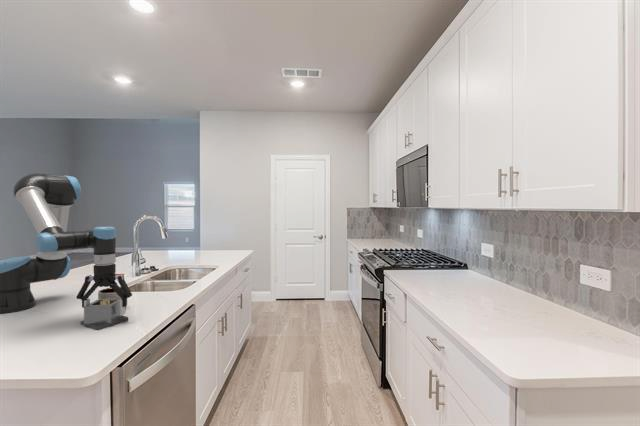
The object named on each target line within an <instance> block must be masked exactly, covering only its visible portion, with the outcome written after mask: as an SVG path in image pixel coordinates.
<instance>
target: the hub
mask: <svg viewBox="0 0 640 426" xmlns="http://www.w3.org/2000/svg"><path fill="white" fill-rule="evenodd" d="M100 305H110V300H102V301H100ZM128 321H129V317H128V316H126V315H122V316H121V317H119V318H118V319H116V320H115V321H114V322H112V323H99V324H84V319H83V320H80V325H81V326H84V327H86V328H89V329H90V330H91V329H92V330H94V331H101V330H103V329H107V328H109V327H112V326H116V325H118V324H123V323H124V322H128Z"/></svg>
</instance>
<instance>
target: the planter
mask: <svg viewBox="0 0 640 426" xmlns="http://www.w3.org/2000/svg"><path fill="white" fill-rule="evenodd" d="M119 287H120V288H121V286H119ZM121 289H122V288H121ZM98 299H122V298H121V297H120V296H119V295H118V294H117V293H116V292H115V291H114V290H113V289H112V288H110V287H105V288H103V289H99V290H98V295H97V300H98ZM126 308H127V306H125V309H126Z"/></svg>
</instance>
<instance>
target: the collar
mask: <svg viewBox="0 0 640 426" xmlns="http://www.w3.org/2000/svg"><path fill="white" fill-rule="evenodd" d="M102 300H110V305H100V301H102ZM121 316H122V315H120V299H98V298H97V299H95V300H94V301H92V302H90V304H88V305H86V306H84V308H83V320H84V324H99V323H112V322H114V321H115V320H116V319H118V318H119V317H121ZM123 316H125V314H123Z"/></svg>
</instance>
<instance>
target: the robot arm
mask: <svg viewBox="0 0 640 426" xmlns="http://www.w3.org/2000/svg"><path fill="white" fill-rule="evenodd" d="M12 192H13V196H14V198H15V199H16V201H17V202H18V203H19V204H21V205H22V206H23V208H24V210H25V212H26V214H27V216H28V218H29V220H30V221H31V224H32V225H33V227H34V228H35V230H36V232H37V234H36V235H35V237H34V238H35V239H34V245H35V249H36V251H38V252H37V253H36V255H35V256H36V257H35V258H31V257H30V256H27V255H26V256H15V257H10V258H6V259H2V260H0V314H8V313H14V312H19V311H24V310H27V309H31V308H33V307H35V306H36V299H35V297H34V294H33V292H32V291H31V284H33V283H41V282H47V281H55V280H56V281H57V280H59V279H62V278H65V277H67V276H68V275H69V273H70V272H71V267H72V263H71V258H70V256H69V255H68V253H67V252H65V251H72V250H73V251H74V250H84V249H85V250H87V249H93V275H91V274H90V275H87V276H85V277H84V283H83V284H82V286H81V288H80V290H79V292H78V293H77V296H76V300H81V308H82V309H84V306H86V305H88V304H90V303H91V298H89V297H90V296H91V295H92V294H93V293H94V292H95V290H97V288H104V287H105V288H112V289H113V290H114V291H115V292H116V293H117V294H118V295H119V296H120V297H121V298H122V299H120V315H123V314H124V315H125V314H126V308H125V306H126V307H127V306H128V299H129V298H131V297H132V296H133V293H132V291H131V290H130V288H129V286H128V284H127V282H126V280H125V276H124V274H121V275H116V272H117V271H116V267H117V265H116V261H117V260H116V259H117V258H116V250H117V249H116V246H117V245H116V243H117V242H116V241H117V235H116V228H115V227H114V226H96V227H94V228H93V229H85V230H76V231H75V230H74V231H67V228H68V222H69V214H70V208H71V207H72V206H74V204H75V201H78V200H80V198H81V197H82V187H81V184H80V181H79V180H78V179H77V178H76V177H75V176H72V175H71V176H70V175H66V174H50V173H49V174H48V173H30V174H25V175H24V176H22V177H21V178H19V179H18V181H17V182H15V184H14V187H13V189H12ZM92 281H94V283H93V284H92V285H91V282H92ZM116 281H117V282H118V283H117V282H116ZM118 284H119V285H120V286H119V285H118ZM90 285H91V287H90V288H89V286H90ZM120 287H121V288H122V289H121V288H120ZM88 288H89V289H88ZM124 315H123V316H124Z"/></svg>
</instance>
